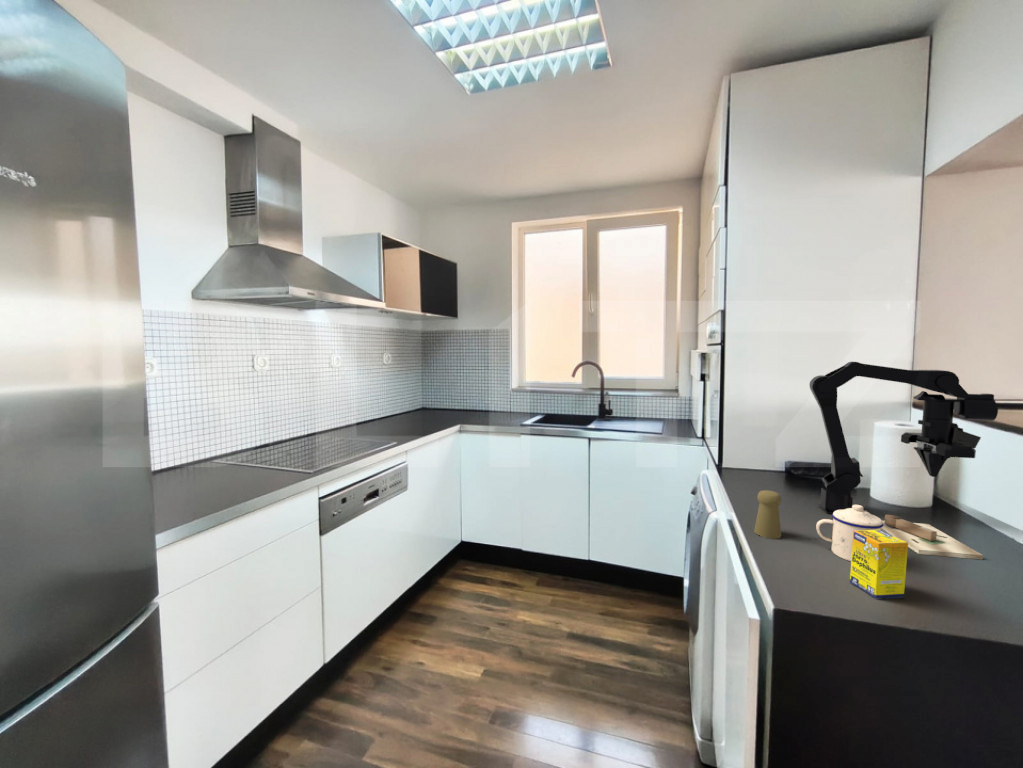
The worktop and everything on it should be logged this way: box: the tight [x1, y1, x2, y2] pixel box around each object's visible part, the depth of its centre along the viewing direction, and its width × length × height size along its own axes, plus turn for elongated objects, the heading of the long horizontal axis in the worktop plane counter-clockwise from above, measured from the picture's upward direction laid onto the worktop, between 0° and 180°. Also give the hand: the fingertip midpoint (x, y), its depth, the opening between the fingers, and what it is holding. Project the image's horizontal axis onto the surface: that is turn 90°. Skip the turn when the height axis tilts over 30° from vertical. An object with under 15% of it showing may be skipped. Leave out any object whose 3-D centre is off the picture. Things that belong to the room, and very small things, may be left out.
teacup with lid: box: [815, 504, 883, 562], centre depth 101 cm, size 12×9×12 cm
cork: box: [753, 489, 782, 540], centre depth 112 cm, size 6×6×11 cm
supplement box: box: [849, 530, 909, 600], centre depth 86 cm, size 6×6×11 cm
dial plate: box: [882, 520, 984, 560], centre depth 108 cm, size 12×18×1 cm, turn 166°
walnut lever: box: [884, 514, 937, 541], centre depth 110 cm, size 11×3×2 cm, turn 10°
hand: (933, 476), depth 117 cm, fingers closed
